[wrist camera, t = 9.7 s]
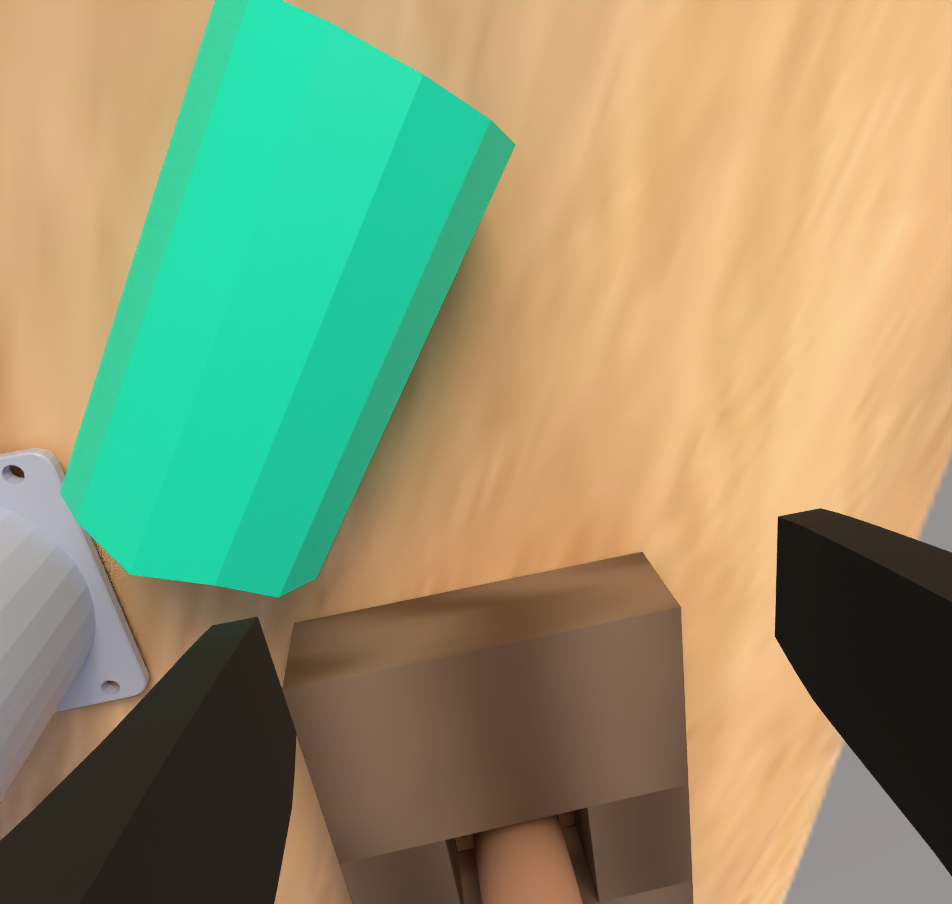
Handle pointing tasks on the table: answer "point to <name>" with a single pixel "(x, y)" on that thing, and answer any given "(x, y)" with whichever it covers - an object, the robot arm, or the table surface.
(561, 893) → the peg
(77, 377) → the table surface
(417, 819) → the hole block
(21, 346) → the table surface
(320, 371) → the candle
